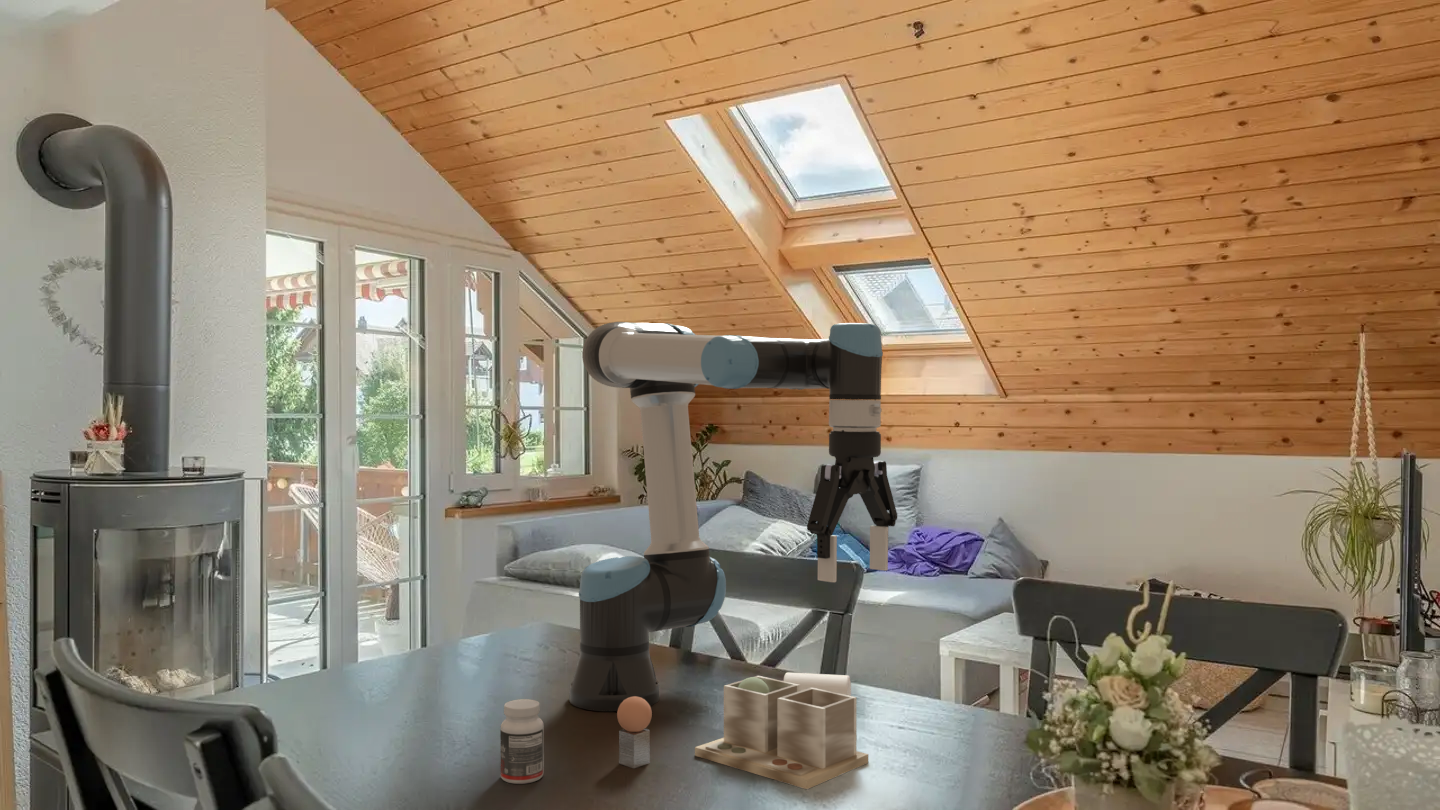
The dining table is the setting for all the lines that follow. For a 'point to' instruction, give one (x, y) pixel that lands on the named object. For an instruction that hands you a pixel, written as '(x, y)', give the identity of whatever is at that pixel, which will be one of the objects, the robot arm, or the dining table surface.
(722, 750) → the rack
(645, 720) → the ball terracotta
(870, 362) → the robot arm
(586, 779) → the dining table surface
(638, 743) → the post
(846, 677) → the mug
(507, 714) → the pill bottle
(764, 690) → the ball sage upper
